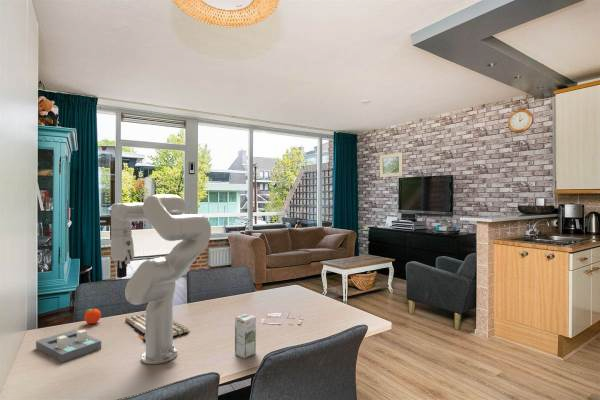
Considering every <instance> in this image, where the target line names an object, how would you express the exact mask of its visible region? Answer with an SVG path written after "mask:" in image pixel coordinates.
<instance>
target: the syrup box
mask: <svg viewBox="0 0 600 400" xmlns="http://www.w3.org/2000/svg"><path fill="white" fill-rule="evenodd" d="M256 321H257V317H256V316H254V315H252V314H250V313H245V314H241V315H239V316H236V317H235V319H234V355H235V356H238V357H240V358H242V359H246V358H249V357H251V356H253V355H255V354H256V349H257V347H256V341H257V340H256V338H257V337H256V336H257V332H256V331H257V322H256Z"/></svg>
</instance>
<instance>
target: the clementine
mask: <svg viewBox="0 0 600 400" xmlns="http://www.w3.org/2000/svg"><path fill="white" fill-rule="evenodd" d="M84 313H85V314H84ZM82 314H84V316H83V320H84V321H85V322H86V324H90V325H94V324H96V323H98V322H99V321H100V320H101V317H102V312H101V310H99V308H89V309H86V310H85V311H84V312H83V313H82Z"/></svg>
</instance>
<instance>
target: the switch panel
mask: <svg viewBox="0 0 600 400" xmlns="http://www.w3.org/2000/svg"><path fill="white" fill-rule="evenodd" d="M77 331H78V330H77V329H72V330H69V331H66V332H61V333H58V334H56V335H51V336H49V337H45V338H41V339H39V340H36V341H35V349H36V350H38V351H40V352H41V353H44V354H45V355H47V356H49V357H51V358H53V359H54V360H56V361H58V362H60V363H65V362H68V361H70V360H73V359H77V358H79V357H81V356H84V355H87V354H90V353H92V352H96V351H98V350H100V349H102V340H100V339H98V338H95V337H93V336H90V335H88V334H87V339H88V341H85V342H82V343H80V342H78V341H75V340H77ZM63 335H64V336H67V337H68V346H69V347H67V348H64V349H59V348H57V347H56V346H57V337H60V336H63Z"/></svg>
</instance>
